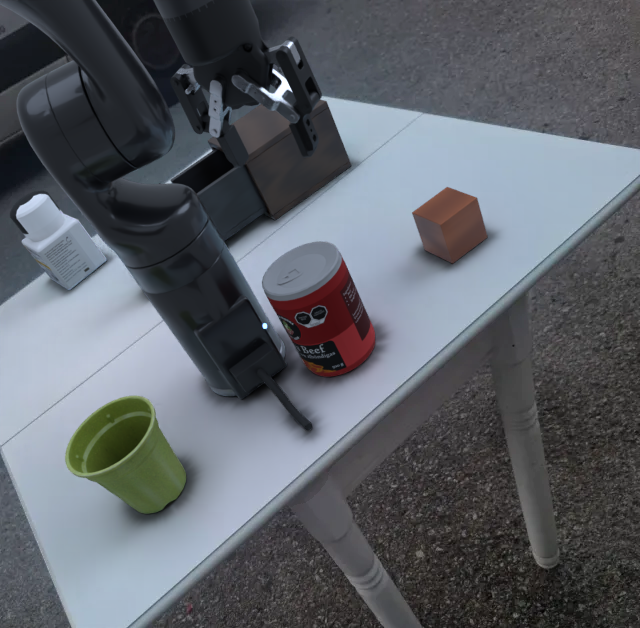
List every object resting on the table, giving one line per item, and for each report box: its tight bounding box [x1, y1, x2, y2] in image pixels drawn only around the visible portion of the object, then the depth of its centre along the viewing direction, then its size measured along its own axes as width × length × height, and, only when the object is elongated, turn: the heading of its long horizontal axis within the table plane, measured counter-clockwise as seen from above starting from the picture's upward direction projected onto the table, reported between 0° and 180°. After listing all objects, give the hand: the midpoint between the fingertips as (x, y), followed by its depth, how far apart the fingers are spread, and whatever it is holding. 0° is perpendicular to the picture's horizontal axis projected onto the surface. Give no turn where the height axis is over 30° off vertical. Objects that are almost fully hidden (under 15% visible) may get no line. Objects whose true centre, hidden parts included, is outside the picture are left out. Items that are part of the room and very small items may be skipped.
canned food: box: [261, 240, 376, 378], centre depth 69 cm, size 8×8×11 cm
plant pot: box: [64, 394, 187, 515], centre depth 67 cm, size 9×9×9 cm
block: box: [411, 186, 488, 264], centre depth 76 cm, size 5×5×5 cm
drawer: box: [158, 149, 268, 242], centre depth 98 cm, size 17×11×8 cm
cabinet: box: [207, 98, 353, 221], centre depth 100 cm, size 14×13×10 cm
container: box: [9, 189, 107, 291], centre depth 107 cm, size 8×8×13 cm
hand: (276, 158), depth 72 cm, fingers open, 8 cm apart
